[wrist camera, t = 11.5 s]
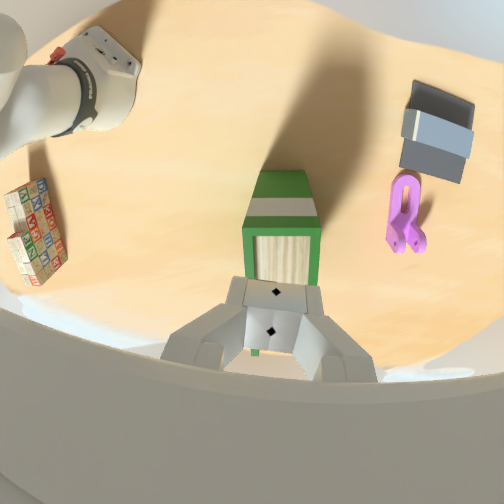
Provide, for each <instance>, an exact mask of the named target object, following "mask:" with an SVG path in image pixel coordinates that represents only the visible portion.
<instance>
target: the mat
mask: <svg viewBox="0 0 504 504" xmlns="http://www.w3.org/2000/svg"><path fill="white" fill-rule="evenodd" d="M409 109H413V110H419V111H421V112H424V113H427V114H430V115H433V116H436V117H439V118H441V119H444V120H447V121H449V122H452V123H454V124H457V125H459V126H462V127H464V128H467V129H469V130H471V129H472V123H473V117H474V110H475V106H474V105H472V104H470V103H468V102H465V101H463V100H461V99H459V98H457V97H454V96H452V95H450V94H447V93H445V92H442V91H440V90H437V89H435V88H432V87H429V86H427V85H424V84H421V83H418V82H416V81H413V85H412V93H411V101H410V108H409ZM465 160H466V158H465V157H462V156H460V155H457V154H454V153H451V152H448V151H445V150H442V149H439V148H436V147H433V146H430V145H427V144H424V143H420V142H417V141H413V140H410V139H407V138H404V144H403V149H402V154H401V159H400V164H399V167H401V168H405V169H409V170H413V171H416V172H420V173H424V174H427V175H431V176H435V177H438V178H441V179H445V180H448V181H451V182H455V183H458V184H460V181H461V177H462V173H463V169H464V165H465Z"/></svg>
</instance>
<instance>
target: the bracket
mask: <svg viewBox="0 0 504 504" xmlns="http://www.w3.org/2000/svg"><path fill="white" fill-rule="evenodd" d="M406 185H408V186H409V195H408V204H407V210H406V211H405V212H401V202H402V192H403V188H404V187H405V186H406ZM420 190H421V188H420V184H419V182H418V180H417V179H416V178H415V177H413V176H412V175H410V174H406V173H405V174H400V175H398V176H397V177H396V178H395V179H394V180H393V182H392V185H391V194H390V206H389V216H388V225H387V233H386V241H387V242H388V244H389V245H390V247H391V249H392V250H393V252H394V253H403V252H404V251H405V247H406V242H407V243H408V244H409V245H410V247H411V248H412V250H413V251H414V252H415V253H422V252H424V251H425V249H426V236H425V234H424V232H423V231H422V230H421V229H420V228H419V227H418V226H417V215H418V208H419V199H420Z"/></svg>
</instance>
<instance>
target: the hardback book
mask: <svg viewBox="0 0 504 504" xmlns="http://www.w3.org/2000/svg"><path fill="white" fill-rule="evenodd" d="M242 234H243V249H244V263H245V277H247V278H254V279H260V280H267V281H274V282H279V283H289V284H299V285H314V286H317V281H318V269H319V255H320V239H321V226H320V222H319V219H318V215H317V211H316V208H315V205H314V201H313V198H312V194H311V191H310V188H309V184H308V181H307V178H306V175H305V172H304V171H260V173H259V176H258V180H257V183H256V186H255V189H254V192H253V195H252V198H251V201H250V204H249V208H248V211H247V214H246V217H245V220H244V223H243V226H242ZM251 356H259V350H258V349H251Z"/></svg>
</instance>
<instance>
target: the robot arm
mask: <svg viewBox="0 0 504 504" xmlns="http://www.w3.org/2000/svg"><path fill="white" fill-rule="evenodd" d="M87 33H88V35H87ZM27 55H28V47H27V41H26V38H25V34H24V32H23V30H22V28H21V27H20V26H19V24H18V23H17V22H16V21H15V20H14V19H13V18H11V17H10V16H8V15H6V14H3V13H0V160H2V159H3V158H5V157H6V156H8V155H9V154H11V153H12V152H14V151H15V150H17V149H19V148H21V147H23V146H25V145H27V144H29V143H32V142H35V141H38V140H41V139H44V138H47V137H60V136H64V135H68V134H72V133H75V132H78V131H81V130H93V131H98V132H104V131H108V130H111V129H113V128H115V127H117V126H118V125H119V124H120V123H122V122H123V121H124V119H125V118H126V117H127V115H128V114H129V112H130V110H131V108H132V106H133V103H134V99H135V91H136V79H137V77H138V75H139V72H140V69H141V64H140V62H139V61H138V60H137V59H136V58H135V57H133V56H132V55H131V54H130V53H129V52H128V51H127V50H126V49H125V48H124V47H123V46H121V45H120V44H119V43H118V42H117V41H116V40H115V39H114V38H113V37H112V36H110V35H109V34H108V33H107V32H106V31H105V30H104V29H102V28H101V27H100V26H94V27H91V28H89V29H87V30H85V31H83V32H82V33H81V34H79V35H78V36H77V37H75V38H73V39H72V40H70V41H69V42H67V43H66V44H65V45H64V46H63V47H57V48H56V49H55V51H54V52H53V53H52V54H51V55H50V58H51V60H50V61H49V62H48V64H45V65H27V66H24V64H25V62H26V59H27ZM130 62H131V65H130V66H129V63H130ZM243 348H248V349H258V350H268V351H275V352H283V353H291V354H292V355H293V356H294V358H295V359H296V361H297V363H298V364H299V366H300V367H301V368H302V370H303V372H304V373H305V375H306V376H307V378H308V379H309V381H308V380H295V379H283V378H273V377H264V376H255V375H247V374H240V373H232V372H226V371H223V368H224V367H225V366H226V365H227V364H228V363H229V362H230V361H232V360H233V358H234V357H236V356H237V355H238V354H239V353H240V352H241V351H242V350H243ZM0 504H504V372H501V373H495V374H488V375H481V376H474V377H465V378H456V379H446V380H433V381H418V382H394V383H378V381H377V378H376V373H375V368H374V364H373V360H372V357H371V356H370V355H369V354H368V353H367V352H366V351H365V350H364V349H363V348H362V347H361V346H360V345H358V344H357V343H356V342H355V341H354V340H353V339H352V338H351V337H350V336H349V335H348V334H347V333H346V332H345V331H344V330H343V329H342V328H341V327H339V326H338V325H337V324H336V323H335V322H334V321H333V320H332V319H331V318H330V317H329V316H324V310H323V303H322V297H321V291H320V287H319V286H314V285H299V284H289V283H279V282H274V281H267V280H260V279H254V278H247V277H239V276H233V278H232V281H231V285H230V288H229V292H228V295H227V299H226V302H225V304H222V303H221V304H219V305H217V306H216V307H214V308H213V309H211V310H209V311H208V312H206V313H205V314H203V315H201V316H200V317H198V318H196V319H195V320H193V321H192V322H190V323H188V324H187V325H185V326H183V327H182V328H180V329H178V330H177V331H175V332H174V333H172V334H171V335H170V337H169V339H168V342H167V344H166V346H165V348H164V351H163V353H162V355H161V358H160V359H156V358H153V357H148V356H144V355H140V354H136V353H132V352H128V351H124V350H121V349H117V348H113V347H110V346H106V345H103V344H99V343H96V342H92V341H89V340H86V339H83V338H80V337H77V336H73V335H70V334H67V333H64V332H62V331H59V330H56V329H53V328H50V327H47V326H45V325H42V324H39V323H37V322H34V321H32V320H29V319H27V318H24V317H21V316H19V315H17V314H14V313H12V312H9V311H7V310H5V309H3V308H0Z"/></svg>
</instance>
